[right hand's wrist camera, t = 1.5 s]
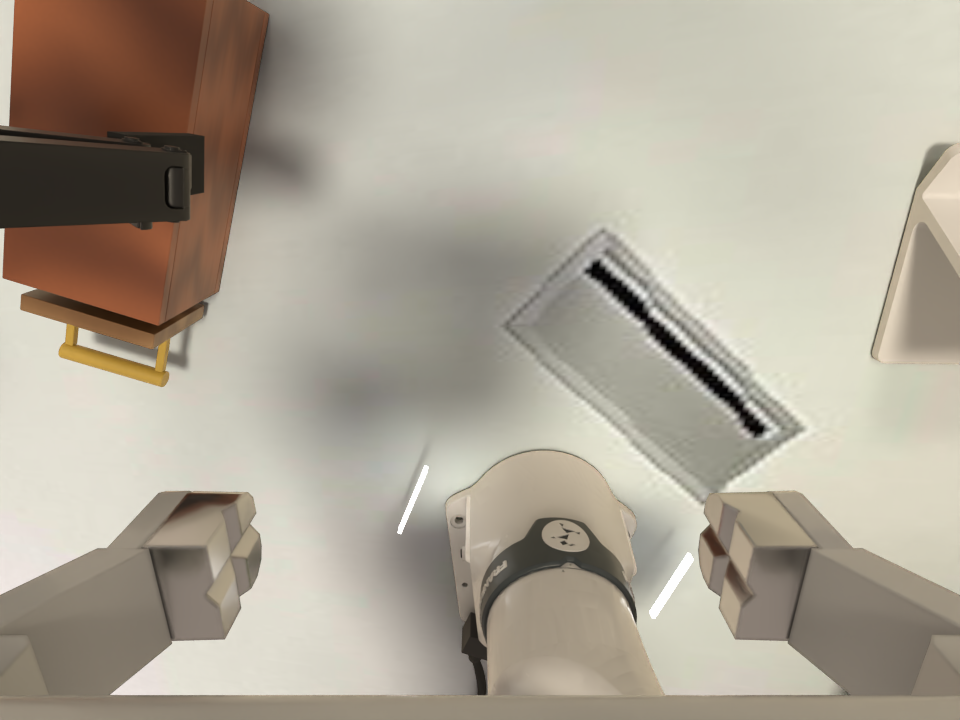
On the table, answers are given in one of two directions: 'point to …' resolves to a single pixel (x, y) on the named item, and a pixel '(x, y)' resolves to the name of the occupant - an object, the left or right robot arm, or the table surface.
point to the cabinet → (136, 108)
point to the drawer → (110, 333)
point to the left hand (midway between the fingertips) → (56, 137)
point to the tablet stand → (926, 275)
